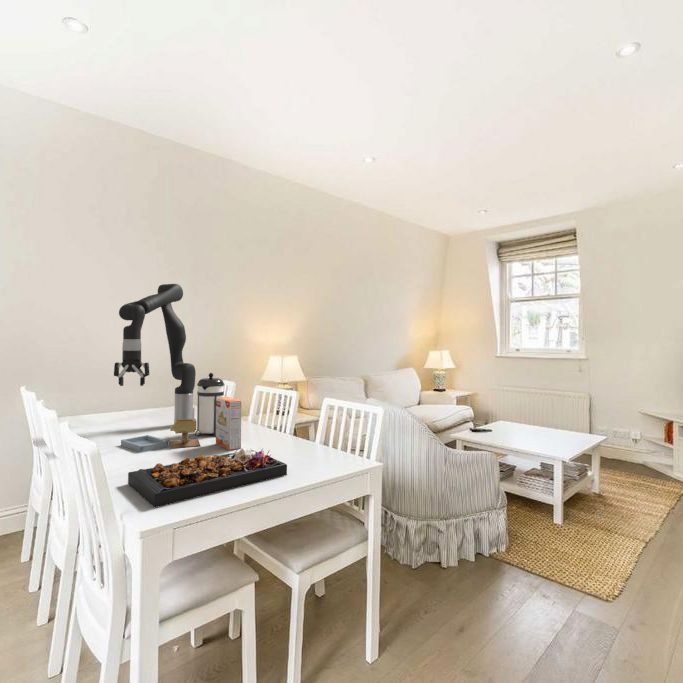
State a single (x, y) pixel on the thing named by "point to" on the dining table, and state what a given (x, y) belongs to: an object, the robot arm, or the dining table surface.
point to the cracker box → (228, 423)
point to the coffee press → (208, 403)
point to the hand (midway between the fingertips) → (131, 385)
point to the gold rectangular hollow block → (184, 425)
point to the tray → (144, 443)
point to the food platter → (204, 476)
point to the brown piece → (184, 441)
